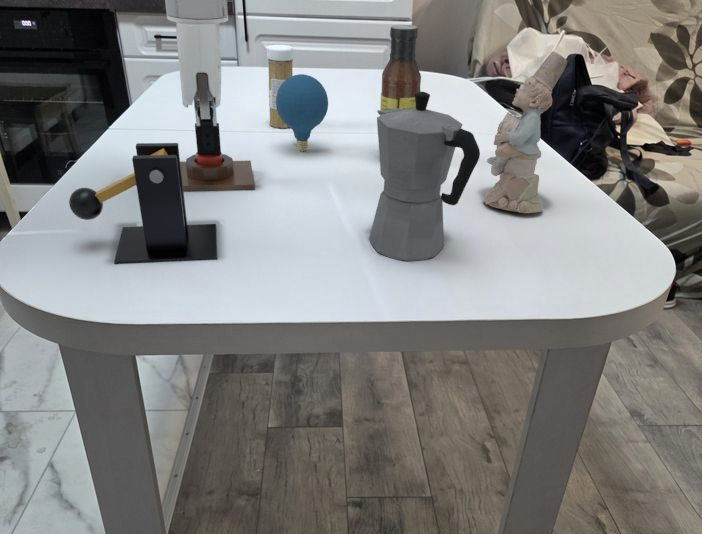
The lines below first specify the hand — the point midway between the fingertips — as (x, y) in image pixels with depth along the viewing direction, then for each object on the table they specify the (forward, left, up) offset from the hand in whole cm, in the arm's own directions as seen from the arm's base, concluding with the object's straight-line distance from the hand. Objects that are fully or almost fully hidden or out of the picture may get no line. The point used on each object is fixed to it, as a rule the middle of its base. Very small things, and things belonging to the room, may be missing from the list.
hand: (209, 153), depth 88 cm
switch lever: (-9, -21, +2) cm, 23 cm away
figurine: (+42, -11, -5) cm, 44 cm away
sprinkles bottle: (+13, +29, -5) cm, 32 cm away
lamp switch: (-5, -21, -4) cm, 22 cm away
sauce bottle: (+30, +9, -5) cm, 32 cm away
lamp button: (0, 0, -2) cm, 2 cm away
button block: (0, 0, -4) cm, 5 cm away
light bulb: (+15, +14, -5) cm, 21 cm away
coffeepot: (+24, -23, -5) cm, 34 cm away
